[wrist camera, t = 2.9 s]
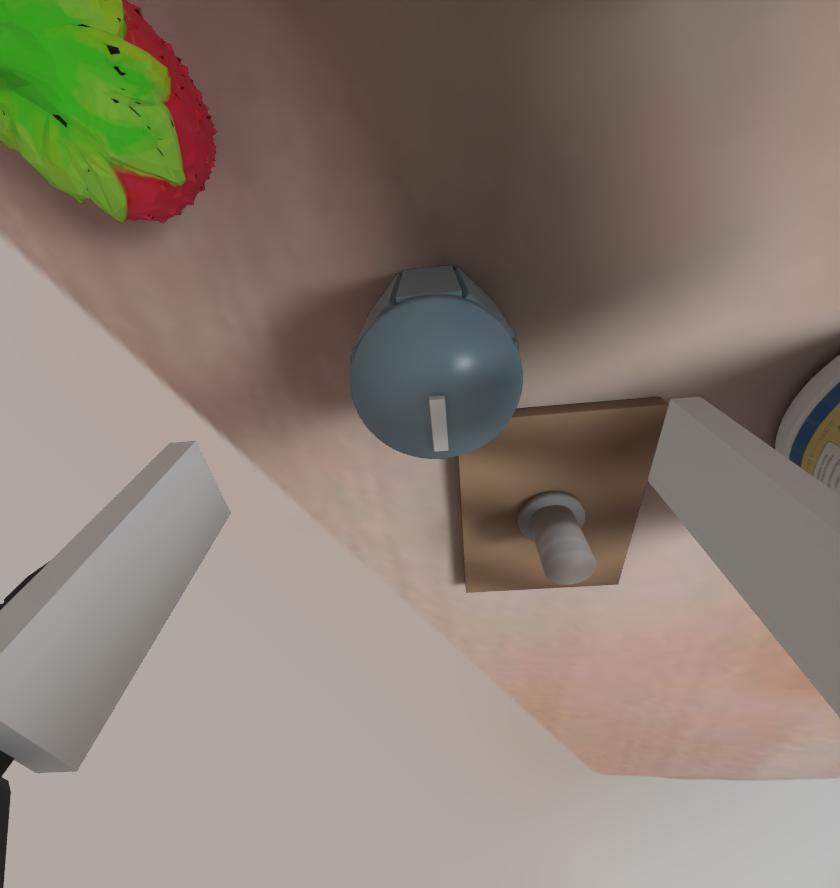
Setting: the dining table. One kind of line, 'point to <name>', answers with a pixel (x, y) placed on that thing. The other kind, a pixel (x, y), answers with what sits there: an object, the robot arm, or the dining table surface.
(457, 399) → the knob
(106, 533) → the robot arm
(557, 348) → the dining table surface
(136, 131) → the strawberry
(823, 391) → the supplement tub
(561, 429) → the stud board
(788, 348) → the dining table surface
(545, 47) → the dining table surface
